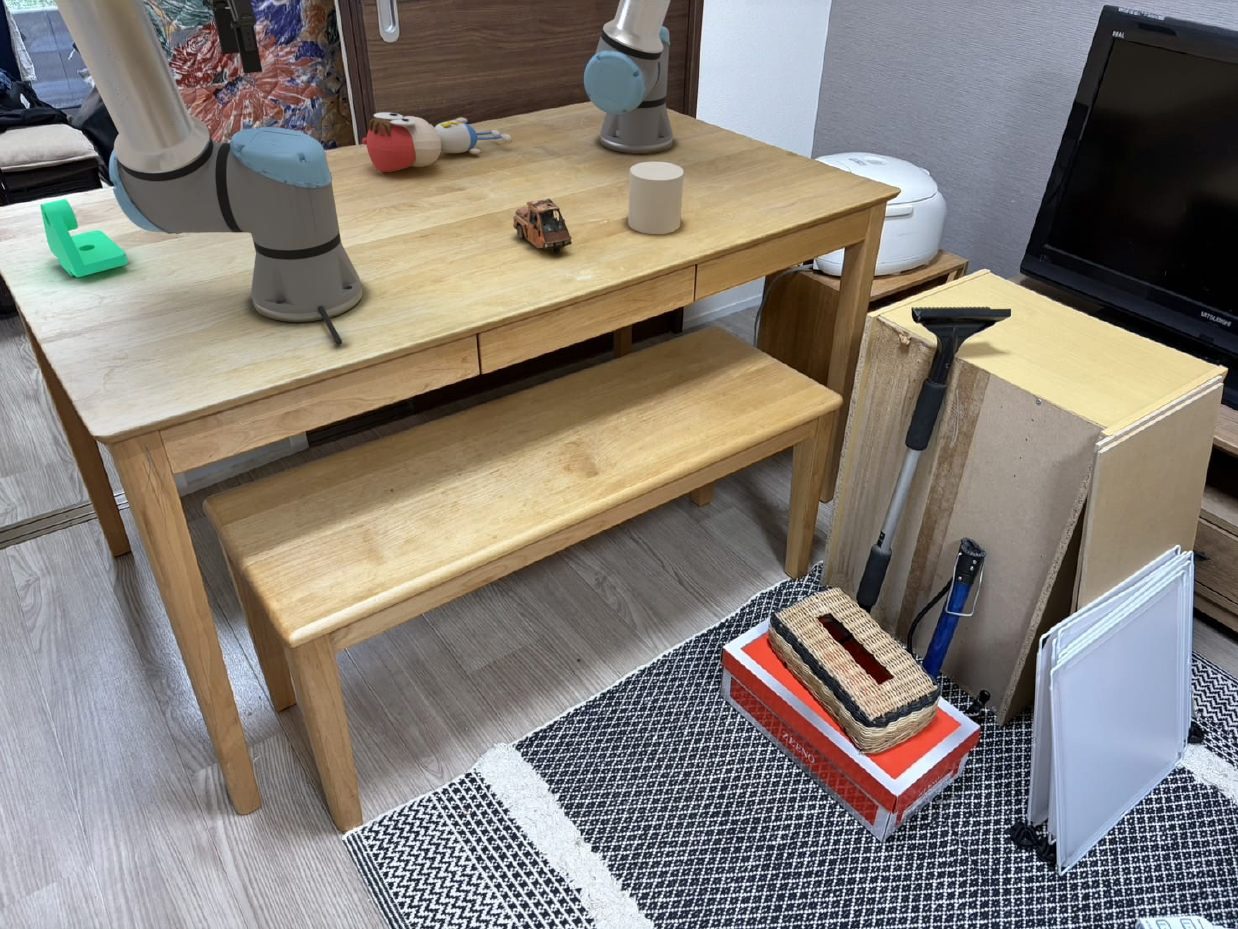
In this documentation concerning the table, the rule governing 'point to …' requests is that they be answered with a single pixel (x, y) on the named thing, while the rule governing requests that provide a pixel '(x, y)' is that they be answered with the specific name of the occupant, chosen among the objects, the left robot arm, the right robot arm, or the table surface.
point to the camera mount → (78, 242)
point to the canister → (655, 197)
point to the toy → (418, 140)
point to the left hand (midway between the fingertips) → (241, 62)
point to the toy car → (542, 225)
